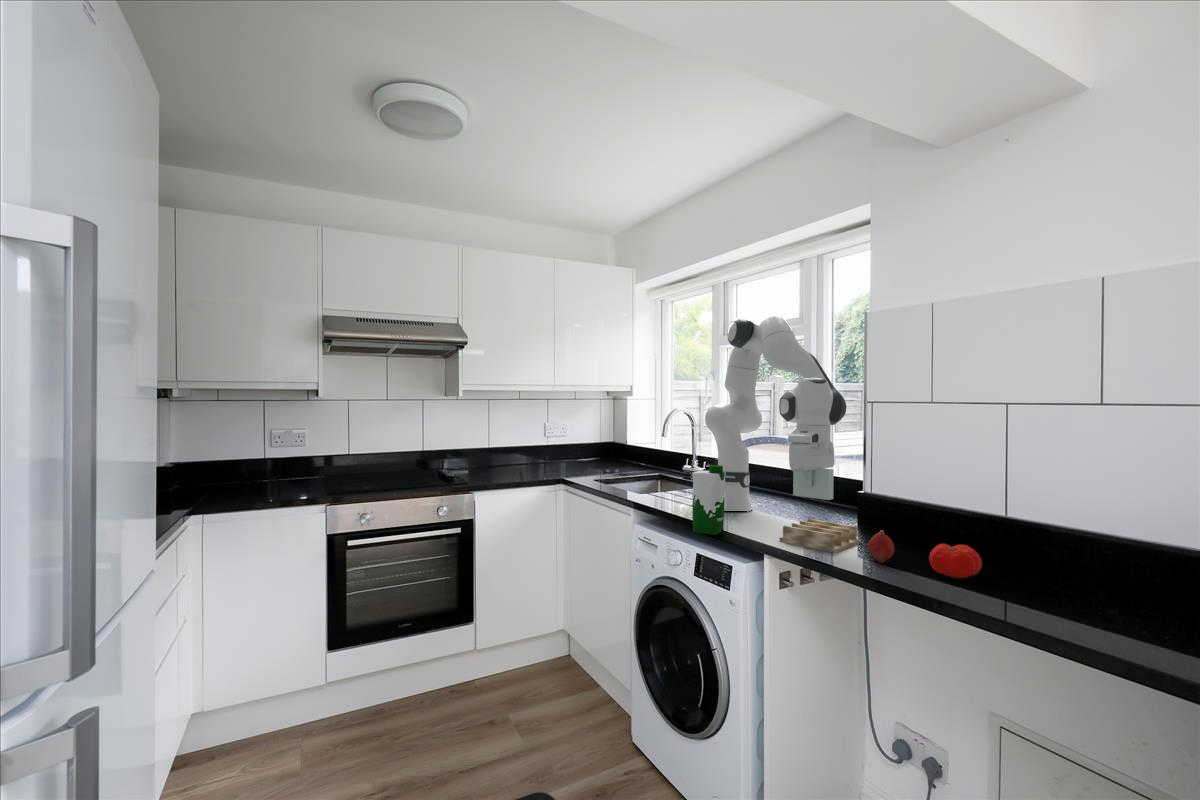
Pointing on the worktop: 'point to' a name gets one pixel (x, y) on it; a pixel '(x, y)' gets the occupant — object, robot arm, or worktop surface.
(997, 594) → the worktop surface
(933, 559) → the tomato
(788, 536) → the dish rack
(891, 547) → the onion
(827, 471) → the pale green rectangular block
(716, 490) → the milk carton
